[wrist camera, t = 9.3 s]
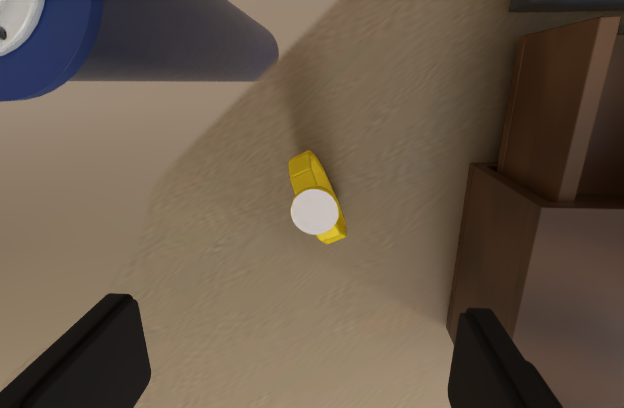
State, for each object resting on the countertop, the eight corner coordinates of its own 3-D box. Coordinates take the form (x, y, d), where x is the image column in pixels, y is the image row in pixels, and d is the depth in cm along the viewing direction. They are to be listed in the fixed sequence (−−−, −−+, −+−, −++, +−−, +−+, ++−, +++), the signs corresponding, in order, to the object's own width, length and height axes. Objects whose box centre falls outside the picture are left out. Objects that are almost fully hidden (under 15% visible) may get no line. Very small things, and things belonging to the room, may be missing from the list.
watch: (355, 214, 26) (359, 250, 20) (321, 228, 27) (316, 267, 21) (321, 139, 24) (315, 157, 19) (285, 156, 25) (269, 177, 19)
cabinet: (469, 162, 24) (541, 207, 16) (665, 165, 23) (855, 213, 15) (445, 327, 29) (491, 432, 20) (609, 334, 28) (730, 447, 19)
